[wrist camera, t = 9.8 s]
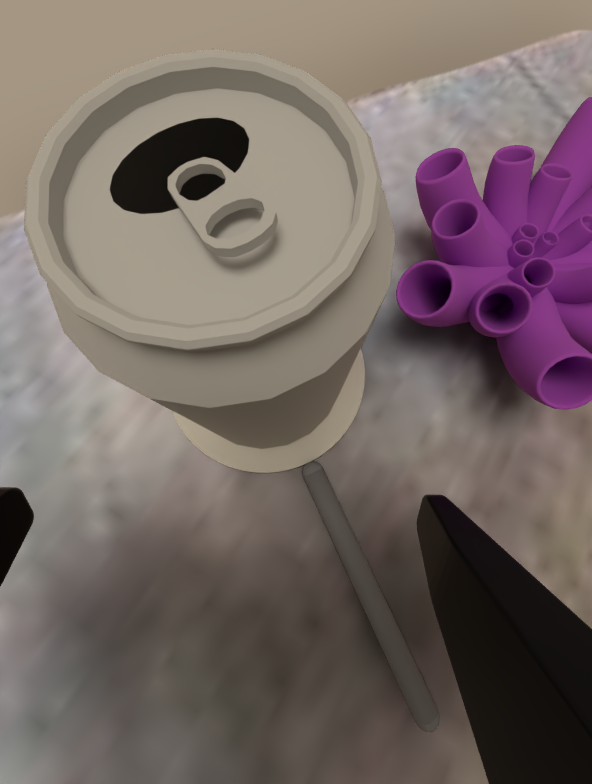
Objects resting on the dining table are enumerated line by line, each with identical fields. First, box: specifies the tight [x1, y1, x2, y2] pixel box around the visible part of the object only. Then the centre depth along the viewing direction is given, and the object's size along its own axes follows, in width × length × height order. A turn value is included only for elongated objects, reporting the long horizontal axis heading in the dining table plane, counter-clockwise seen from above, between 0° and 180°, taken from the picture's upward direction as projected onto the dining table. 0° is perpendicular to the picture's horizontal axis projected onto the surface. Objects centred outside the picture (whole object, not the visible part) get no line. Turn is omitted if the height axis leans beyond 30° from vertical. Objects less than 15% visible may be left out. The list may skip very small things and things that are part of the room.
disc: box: [172, 349, 365, 473], centre depth 18 cm, size 10×10×1 cm
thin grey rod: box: [302, 462, 440, 732], centre depth 15 cm, size 11×1×1 cm, turn 25°
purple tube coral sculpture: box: [396, 97, 592, 409], centre depth 15 cm, size 11×15×10 cm
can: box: [24, 49, 396, 449], centre depth 12 cm, size 8×8×12 cm
